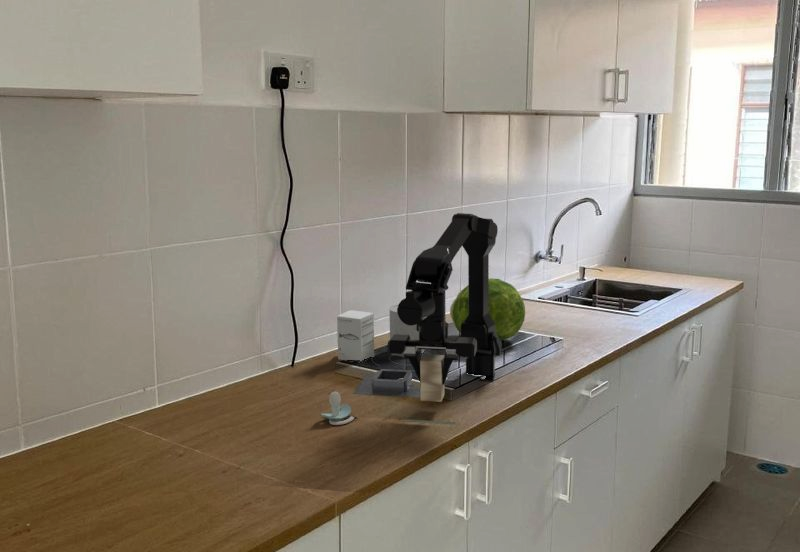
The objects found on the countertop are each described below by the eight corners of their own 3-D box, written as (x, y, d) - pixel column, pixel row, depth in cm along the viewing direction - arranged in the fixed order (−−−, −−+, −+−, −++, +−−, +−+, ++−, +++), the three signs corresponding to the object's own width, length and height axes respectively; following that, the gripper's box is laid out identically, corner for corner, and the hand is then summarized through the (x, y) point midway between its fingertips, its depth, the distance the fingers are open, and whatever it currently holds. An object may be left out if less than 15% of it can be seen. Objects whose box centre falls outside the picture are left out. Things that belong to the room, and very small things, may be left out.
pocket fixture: (430, 380, 198) (430, 367, 197) (420, 401, 184) (420, 387, 184) (366, 377, 201) (366, 364, 200) (352, 396, 188) (352, 383, 187)
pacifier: (360, 419, 175) (340, 412, 179) (360, 392, 174) (340, 385, 177) (337, 430, 170) (316, 422, 173) (336, 402, 168) (316, 394, 172)
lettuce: (475, 328, 244) (463, 271, 240) (540, 332, 228) (529, 271, 224) (435, 352, 231) (422, 292, 227) (502, 357, 215) (489, 293, 211)
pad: (460, 405, 181) (460, 403, 181) (454, 424, 171) (454, 422, 170) (412, 402, 183) (412, 400, 183) (403, 421, 173) (403, 418, 173)
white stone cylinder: (405, 359, 214) (405, 314, 212) (382, 351, 221) (381, 308, 219) (432, 352, 220) (431, 308, 218) (408, 344, 227) (408, 302, 225)
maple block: (444, 394, 178) (444, 355, 176) (441, 401, 174) (441, 361, 172) (424, 393, 179) (423, 354, 177) (420, 400, 174) (420, 360, 173)
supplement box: (337, 362, 213) (335, 315, 210) (351, 354, 219) (350, 309, 217) (361, 365, 210) (360, 318, 207) (375, 357, 216) (374, 312, 213)
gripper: (479, 306, 178) (479, 373, 181) (396, 303, 182) (397, 369, 185) (474, 319, 167) (473, 390, 171) (386, 316, 171) (387, 386, 174)
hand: (432, 383), depth 176 cm, fingers closed on maple block, 4 cm apart
